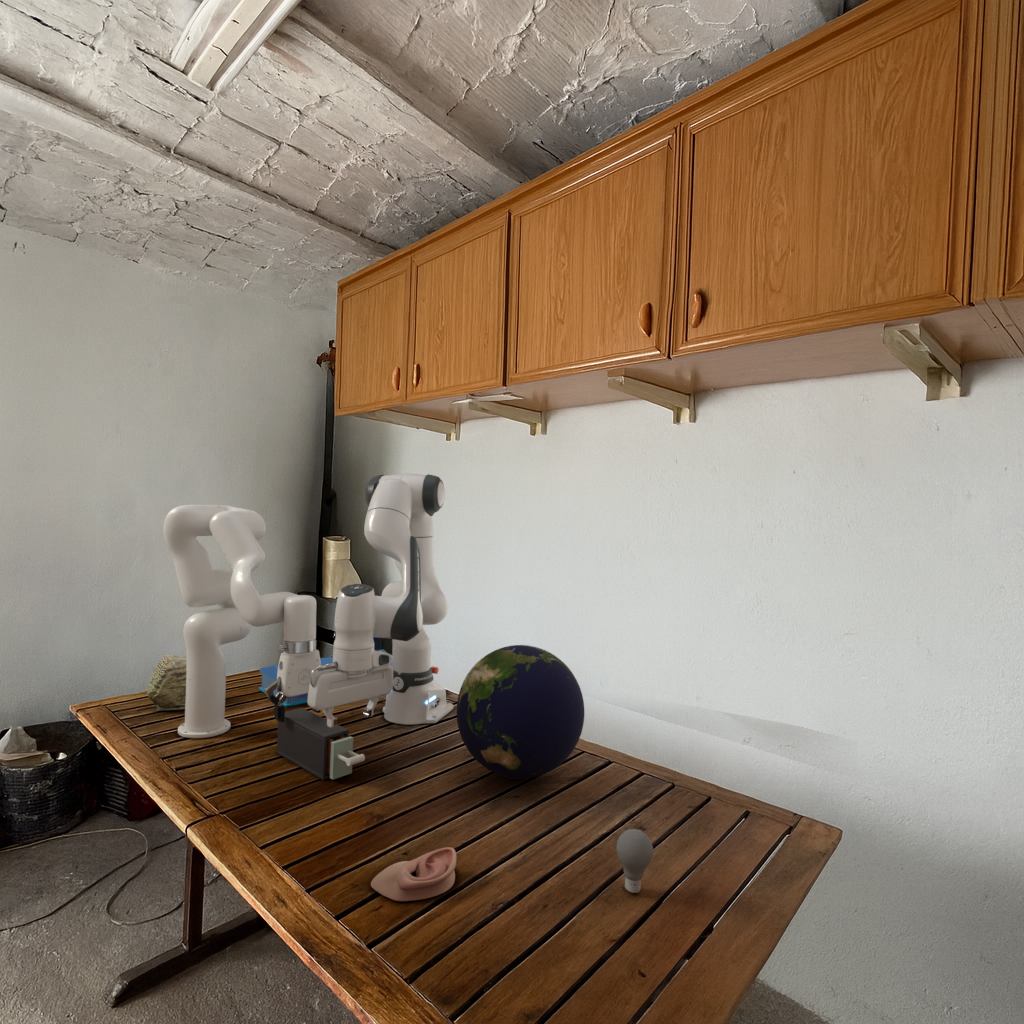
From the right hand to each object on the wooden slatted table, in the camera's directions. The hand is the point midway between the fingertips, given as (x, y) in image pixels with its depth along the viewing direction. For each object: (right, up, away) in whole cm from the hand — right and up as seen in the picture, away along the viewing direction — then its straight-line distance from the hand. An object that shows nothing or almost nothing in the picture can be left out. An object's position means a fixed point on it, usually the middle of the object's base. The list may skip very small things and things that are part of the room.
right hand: (350, 721), depth 140 cm
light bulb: (+56, -17, -34) cm, 68 cm away
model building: (-23, -12, +68) cm, 73 cm away
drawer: (-8, -13, +7) cm, 16 cm away
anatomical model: (+19, -16, -34) cm, 42 cm away
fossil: (-60, -11, +45) cm, 76 cm away
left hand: (-17, -4, +15) cm, 22 cm away
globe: (+37, -16, +9) cm, 41 cm away
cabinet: (-12, -13, +11) cm, 21 cm away
